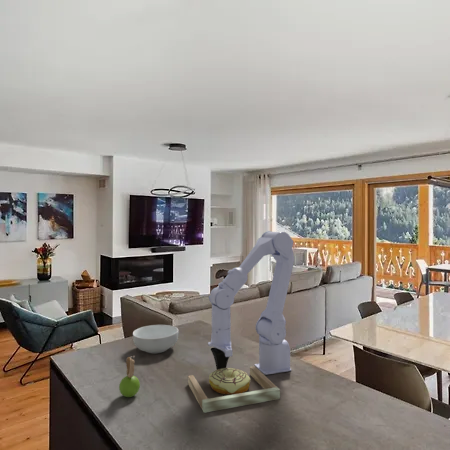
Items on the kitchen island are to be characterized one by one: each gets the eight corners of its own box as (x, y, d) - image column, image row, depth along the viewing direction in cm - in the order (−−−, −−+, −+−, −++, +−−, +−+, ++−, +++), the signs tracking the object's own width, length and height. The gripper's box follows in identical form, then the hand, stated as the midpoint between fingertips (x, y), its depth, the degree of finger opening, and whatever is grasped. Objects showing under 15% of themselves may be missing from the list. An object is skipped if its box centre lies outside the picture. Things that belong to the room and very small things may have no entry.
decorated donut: (236, 401, 94) (236, 386, 94) (200, 390, 101) (200, 375, 101) (257, 385, 103) (257, 371, 103) (223, 375, 110) (223, 362, 110)
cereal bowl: (142, 341, 142) (142, 323, 142) (183, 343, 140) (183, 325, 140) (125, 357, 125) (124, 337, 125) (171, 359, 123) (171, 339, 123)
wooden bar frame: (254, 374, 111) (254, 366, 111) (279, 398, 95) (279, 389, 95) (188, 384, 104) (188, 375, 104) (203, 412, 88) (203, 402, 88)
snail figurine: (122, 404, 93) (122, 358, 93) (117, 394, 98) (117, 350, 98) (143, 399, 95) (143, 354, 95) (137, 389, 101) (137, 347, 101)
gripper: (201, 322, 114) (201, 365, 114) (215, 335, 100) (215, 384, 100) (222, 320, 116) (222, 362, 116) (239, 333, 103) (239, 380, 103)
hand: (221, 372), depth 109 cm, fingers closed
